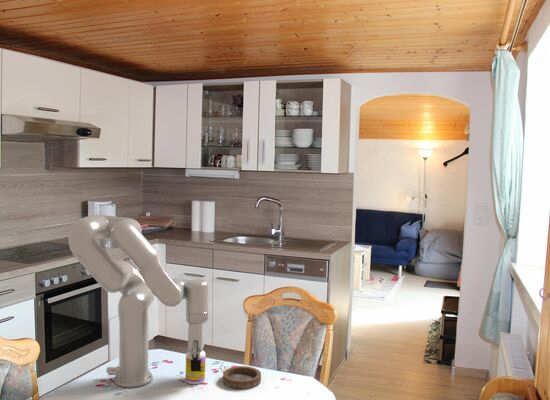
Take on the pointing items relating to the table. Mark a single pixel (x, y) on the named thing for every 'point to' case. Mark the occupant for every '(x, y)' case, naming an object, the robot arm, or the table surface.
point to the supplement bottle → (195, 376)
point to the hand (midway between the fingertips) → (197, 365)
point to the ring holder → (241, 377)
